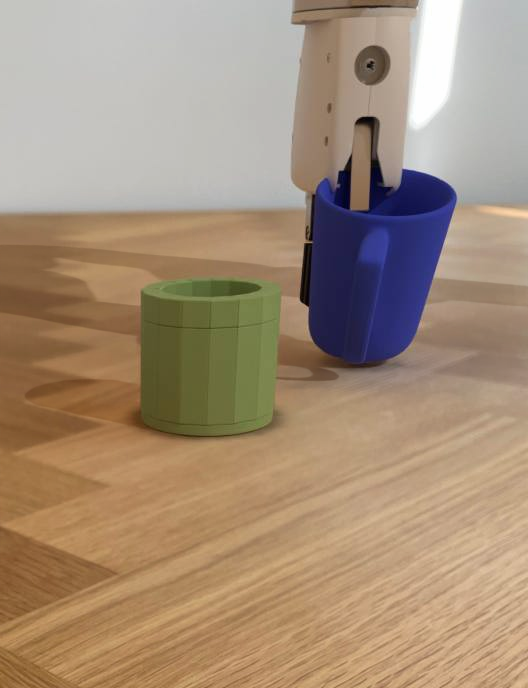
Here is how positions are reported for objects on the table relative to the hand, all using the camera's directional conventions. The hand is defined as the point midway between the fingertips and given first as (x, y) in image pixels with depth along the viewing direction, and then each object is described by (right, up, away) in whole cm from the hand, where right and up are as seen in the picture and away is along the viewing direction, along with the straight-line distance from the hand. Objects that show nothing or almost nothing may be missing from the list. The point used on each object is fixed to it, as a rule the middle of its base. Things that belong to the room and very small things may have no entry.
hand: (324, 304), depth 72 cm
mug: (+1, -5, -4) cm, 6 cm away
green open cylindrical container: (-10, -11, -14) cm, 20 cm away
